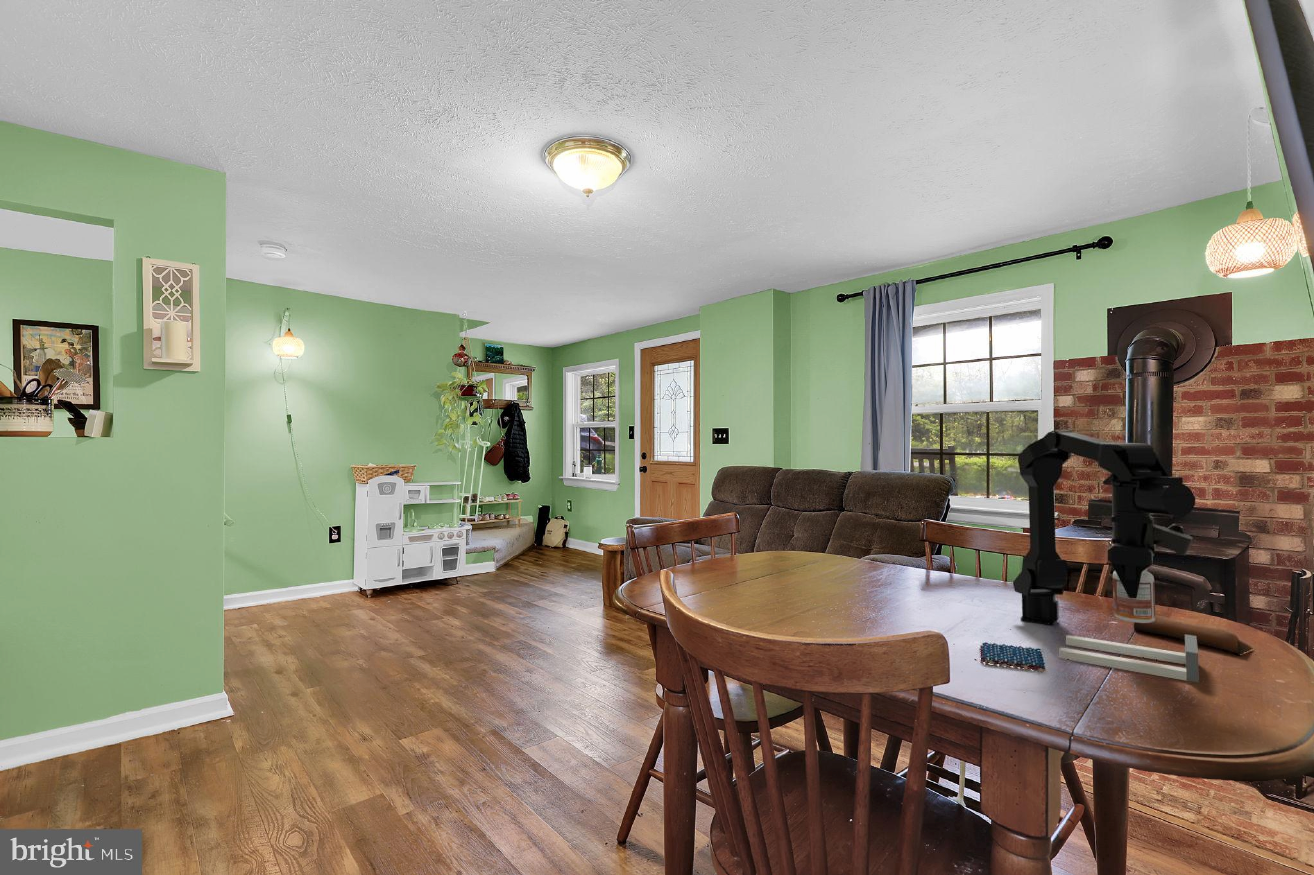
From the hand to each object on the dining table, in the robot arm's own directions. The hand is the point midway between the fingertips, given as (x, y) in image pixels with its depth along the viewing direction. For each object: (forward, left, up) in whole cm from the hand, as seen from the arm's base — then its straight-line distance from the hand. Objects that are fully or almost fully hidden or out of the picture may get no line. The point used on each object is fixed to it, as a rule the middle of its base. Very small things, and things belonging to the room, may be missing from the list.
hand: (1133, 594), depth 114 cm
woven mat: (-18, -12, -13) cm, 26 cm away
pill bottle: (0, 0, -5) cm, 5 cm away
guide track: (-1, 0, -13) cm, 13 cm away
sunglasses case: (+8, +23, -13) cm, 28 cm away
